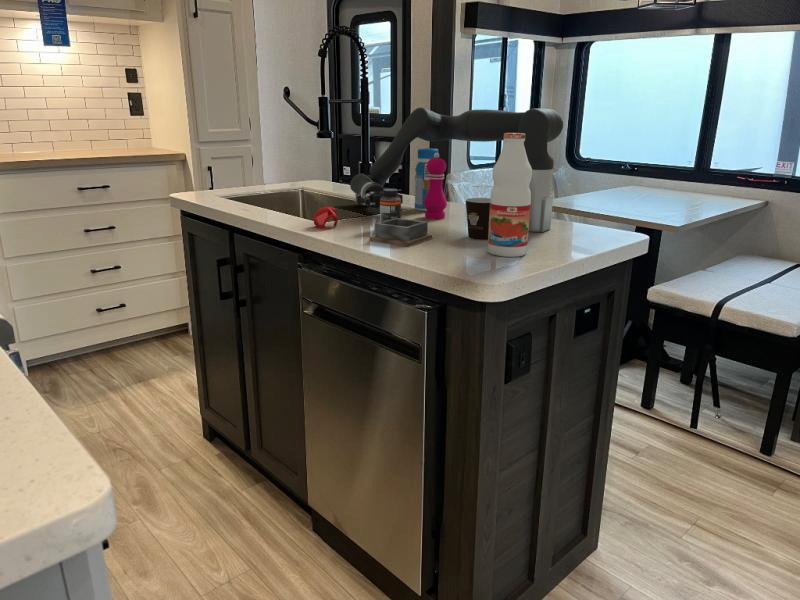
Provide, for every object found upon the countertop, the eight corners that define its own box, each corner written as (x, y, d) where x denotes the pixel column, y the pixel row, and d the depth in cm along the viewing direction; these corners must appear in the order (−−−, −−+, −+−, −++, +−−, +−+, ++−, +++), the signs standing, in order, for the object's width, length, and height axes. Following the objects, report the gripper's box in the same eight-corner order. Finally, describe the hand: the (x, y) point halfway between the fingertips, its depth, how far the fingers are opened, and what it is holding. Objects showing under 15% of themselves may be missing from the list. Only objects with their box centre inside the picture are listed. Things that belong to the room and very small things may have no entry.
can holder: (432, 238, 164) (432, 221, 162) (408, 246, 154) (409, 229, 153) (394, 233, 170) (394, 217, 168) (369, 240, 160) (369, 223, 159)
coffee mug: (458, 235, 168) (459, 198, 165) (485, 233, 171) (487, 197, 168) (480, 244, 158) (482, 205, 155) (508, 241, 161) (511, 203, 158)
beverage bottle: (409, 209, 208) (410, 148, 201) (422, 206, 214) (424, 147, 208) (430, 212, 203) (432, 150, 197) (443, 209, 210) (445, 148, 203)
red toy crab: (345, 216, 176) (334, 203, 179) (332, 211, 171) (321, 198, 174) (329, 237, 179) (318, 224, 182) (316, 233, 174) (305, 220, 177)
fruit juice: (526, 249, 152) (535, 132, 144) (527, 258, 144) (536, 134, 135) (488, 247, 154) (494, 132, 145) (486, 256, 145) (493, 133, 137)
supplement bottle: (390, 226, 179) (391, 187, 176) (405, 229, 175) (405, 189, 172) (375, 229, 175) (375, 189, 172) (390, 232, 171) (390, 191, 168)
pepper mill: (446, 219, 190) (449, 153, 184) (423, 219, 190) (425, 153, 184) (445, 215, 197) (447, 151, 191) (423, 215, 197) (424, 151, 191)
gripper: (351, 183, 196) (359, 190, 181) (395, 182, 199) (406, 189, 184) (351, 206, 198) (359, 215, 183) (395, 205, 201) (406, 214, 186)
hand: (383, 202), depth 183 cm, fingers open, 8 cm apart
